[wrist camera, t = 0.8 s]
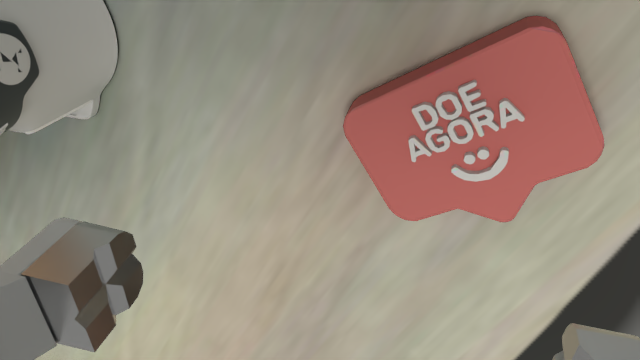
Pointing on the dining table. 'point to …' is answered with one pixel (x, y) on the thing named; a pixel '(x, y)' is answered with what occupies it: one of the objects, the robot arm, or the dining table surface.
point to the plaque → (478, 125)
